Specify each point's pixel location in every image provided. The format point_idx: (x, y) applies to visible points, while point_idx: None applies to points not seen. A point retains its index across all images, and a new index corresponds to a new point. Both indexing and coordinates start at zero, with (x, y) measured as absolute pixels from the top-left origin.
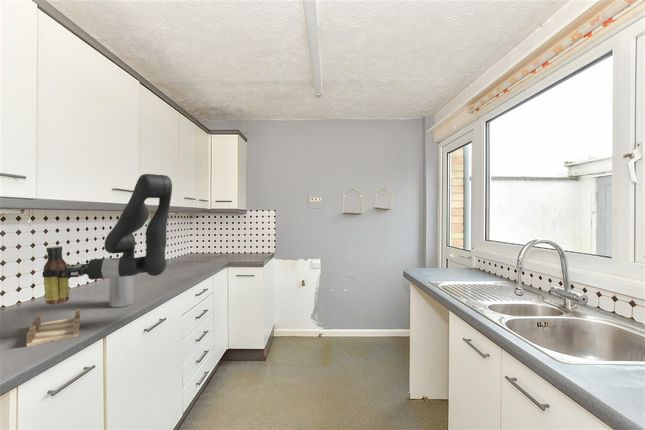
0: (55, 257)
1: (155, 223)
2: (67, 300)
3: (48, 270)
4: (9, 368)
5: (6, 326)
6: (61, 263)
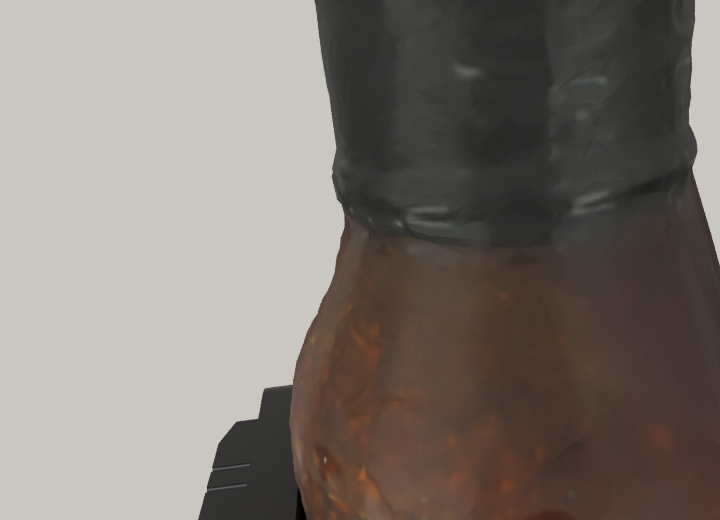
0: (354, 146)
1: None
2: None
3: None
4: None
5: None
6: (437, 422)
